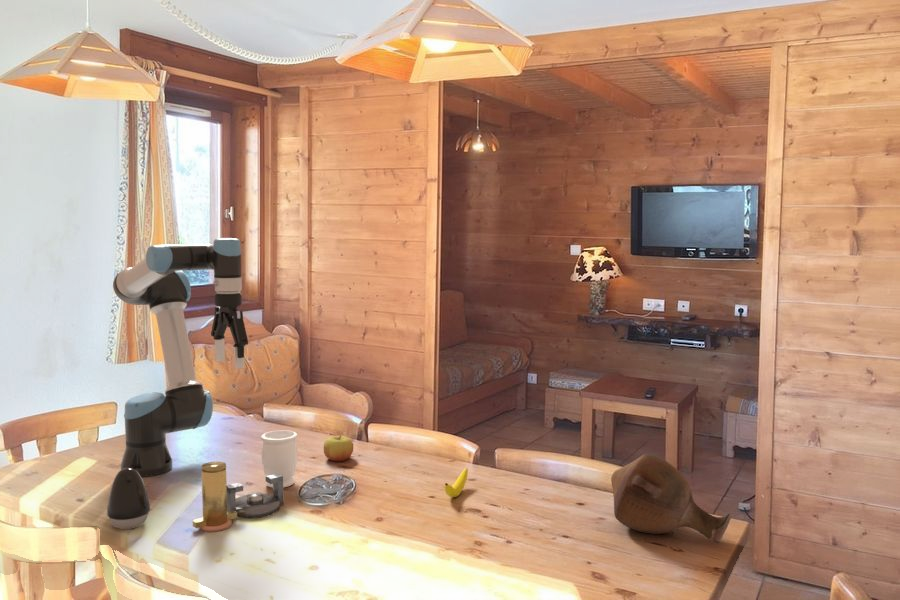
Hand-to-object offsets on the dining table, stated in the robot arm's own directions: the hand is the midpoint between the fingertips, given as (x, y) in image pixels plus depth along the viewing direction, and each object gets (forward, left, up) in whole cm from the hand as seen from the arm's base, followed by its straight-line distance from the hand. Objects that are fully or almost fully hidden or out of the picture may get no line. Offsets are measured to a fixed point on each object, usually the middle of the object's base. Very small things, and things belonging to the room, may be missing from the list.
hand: (229, 365), depth 226 cm
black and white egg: (+11, -33, -36) cm, 50 cm away
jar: (+7, +12, -36) cm, 39 cm away
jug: (+102, +70, -36) cm, 129 cm away
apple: (-2, +38, -36) cm, 53 cm away
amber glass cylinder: (+25, -16, -35) cm, 46 cm away
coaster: (+25, -16, -36) cm, 47 cm away
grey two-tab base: (+21, -3, -36) cm, 42 cm away
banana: (+47, +47, -36) cm, 76 cm away
